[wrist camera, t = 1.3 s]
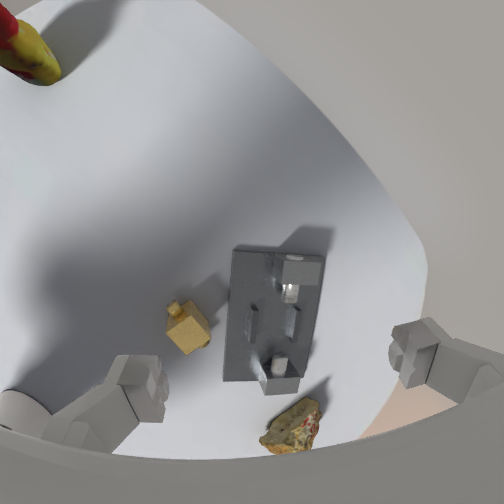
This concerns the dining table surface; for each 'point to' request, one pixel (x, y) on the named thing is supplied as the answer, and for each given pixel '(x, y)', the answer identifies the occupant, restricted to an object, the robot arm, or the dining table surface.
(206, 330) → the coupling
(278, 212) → the dining table surface
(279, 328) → the dark grey baseplate
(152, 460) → the robot arm
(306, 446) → the rock
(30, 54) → the red yellow oblong piece
